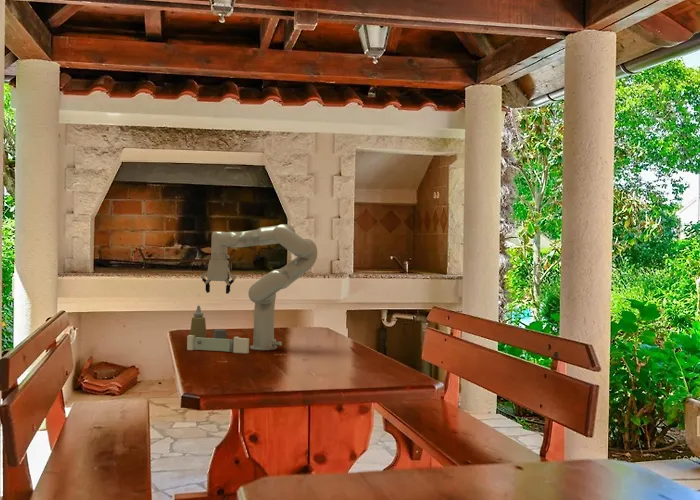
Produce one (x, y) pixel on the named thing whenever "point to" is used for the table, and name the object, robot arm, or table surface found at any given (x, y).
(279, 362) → the table surface
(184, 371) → the table surface
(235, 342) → the pale rectangular blocks
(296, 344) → the table surface
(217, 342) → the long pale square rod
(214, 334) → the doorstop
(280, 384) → the table surface
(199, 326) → the squeeze bottle
